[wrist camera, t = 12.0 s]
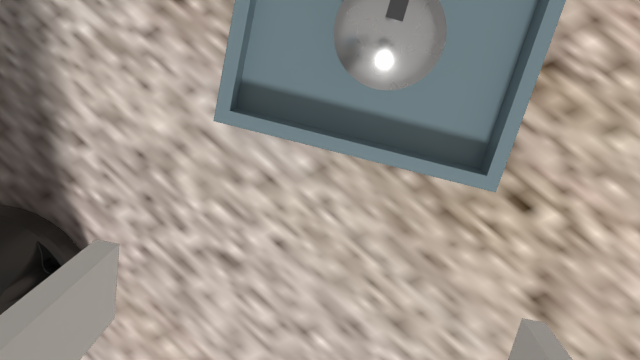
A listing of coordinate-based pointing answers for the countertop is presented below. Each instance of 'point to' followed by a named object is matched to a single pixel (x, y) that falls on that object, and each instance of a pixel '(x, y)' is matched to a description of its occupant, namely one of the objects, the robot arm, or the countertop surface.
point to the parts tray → (390, 105)
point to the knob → (389, 40)
